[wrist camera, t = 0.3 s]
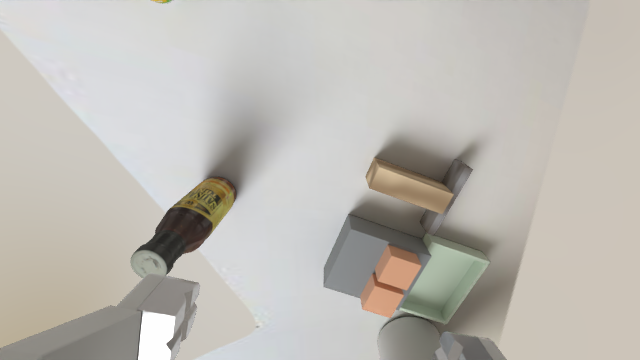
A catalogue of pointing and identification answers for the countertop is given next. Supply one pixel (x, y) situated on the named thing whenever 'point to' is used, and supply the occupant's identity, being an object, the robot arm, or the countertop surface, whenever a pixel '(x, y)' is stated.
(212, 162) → the countertop surface
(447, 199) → the grey and tan blocks
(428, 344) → the cylinder vase
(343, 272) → the board
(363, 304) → the orange block
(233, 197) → the sauce bottle
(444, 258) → the tray
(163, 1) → the supplement bottle
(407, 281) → the peach block
